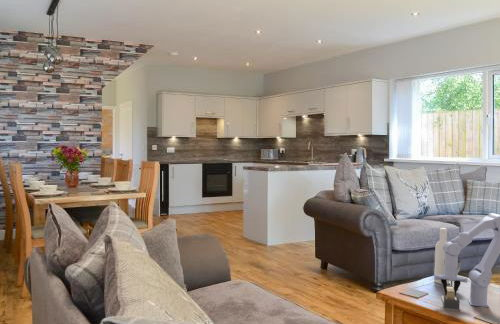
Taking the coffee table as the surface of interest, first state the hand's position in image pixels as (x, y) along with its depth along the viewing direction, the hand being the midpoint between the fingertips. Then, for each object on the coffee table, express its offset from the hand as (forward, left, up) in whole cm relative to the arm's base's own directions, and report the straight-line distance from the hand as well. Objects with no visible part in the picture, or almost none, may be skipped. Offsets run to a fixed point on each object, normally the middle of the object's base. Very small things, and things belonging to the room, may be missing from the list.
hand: (449, 295), depth 223 cm
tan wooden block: (0, 0, -2) cm, 2 cm away
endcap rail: (+2, 0, -4) cm, 4 cm away
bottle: (-37, -1, -4) cm, 37 cm away
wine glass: (-26, +3, -4) cm, 26 cm away
